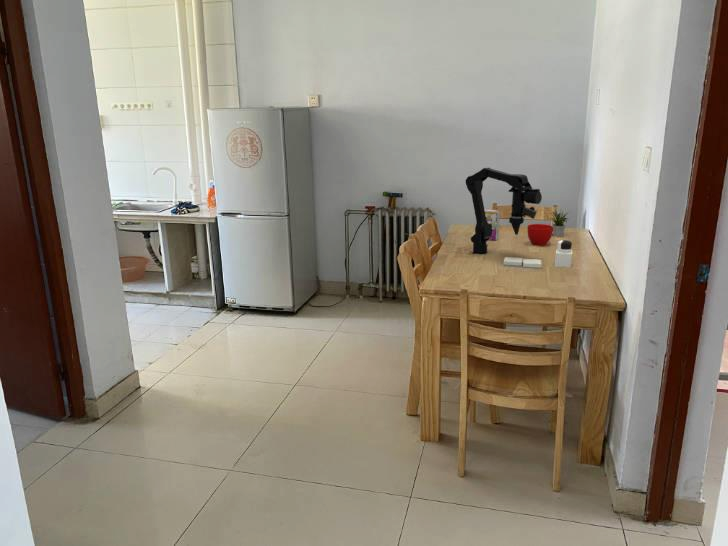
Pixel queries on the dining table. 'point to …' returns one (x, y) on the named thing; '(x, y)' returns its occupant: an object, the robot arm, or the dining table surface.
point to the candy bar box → (493, 222)
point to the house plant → (558, 223)
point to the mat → (519, 266)
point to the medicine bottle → (563, 254)
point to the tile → (513, 261)
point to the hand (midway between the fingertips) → (516, 234)
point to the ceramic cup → (539, 234)
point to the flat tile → (532, 263)
